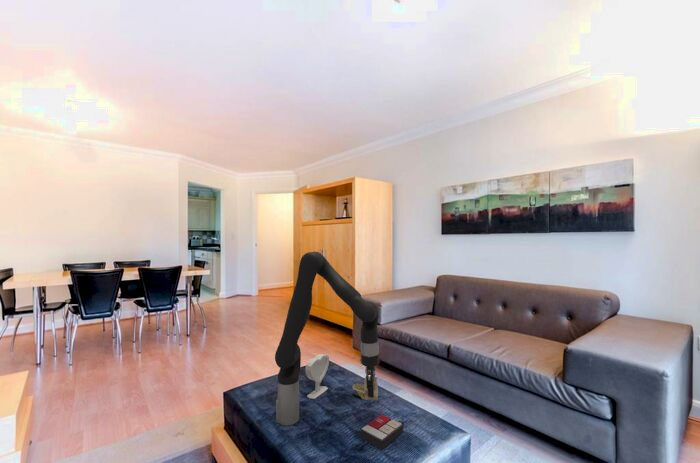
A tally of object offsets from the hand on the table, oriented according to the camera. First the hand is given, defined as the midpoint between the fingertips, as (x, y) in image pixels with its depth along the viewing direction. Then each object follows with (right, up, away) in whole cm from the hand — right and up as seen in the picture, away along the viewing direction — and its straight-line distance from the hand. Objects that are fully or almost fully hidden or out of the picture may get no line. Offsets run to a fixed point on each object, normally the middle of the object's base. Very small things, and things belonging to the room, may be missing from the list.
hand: (371, 393), depth 130 cm
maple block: (0, -1, 0) cm, 1 cm away
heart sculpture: (-25, -16, +32) cm, 44 cm away
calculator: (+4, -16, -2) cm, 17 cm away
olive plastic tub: (-4, -16, +26) cm, 31 cm away
